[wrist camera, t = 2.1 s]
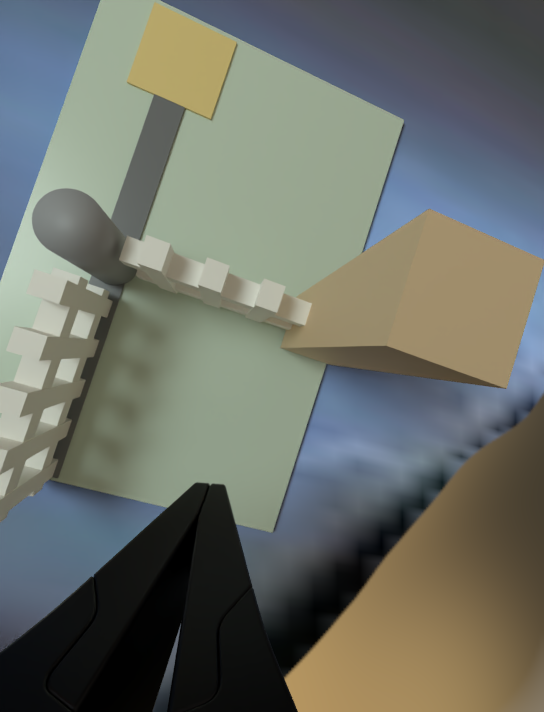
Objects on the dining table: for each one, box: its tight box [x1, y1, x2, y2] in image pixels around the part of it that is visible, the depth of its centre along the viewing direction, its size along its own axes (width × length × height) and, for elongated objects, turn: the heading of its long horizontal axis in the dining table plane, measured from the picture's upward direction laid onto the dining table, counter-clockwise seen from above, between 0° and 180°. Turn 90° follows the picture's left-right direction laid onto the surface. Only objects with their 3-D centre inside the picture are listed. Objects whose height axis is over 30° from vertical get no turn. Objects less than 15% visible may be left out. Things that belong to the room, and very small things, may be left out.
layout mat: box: [0, 0, 404, 533], centre depth 18 cm, size 25×17×1 cm
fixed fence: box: [0, 188, 137, 522], centre depth 14 cm, size 13×2×6 cm, turn 162°
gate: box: [119, 209, 544, 389], centre depth 12 cm, size 11×3×12 cm, turn 72°
